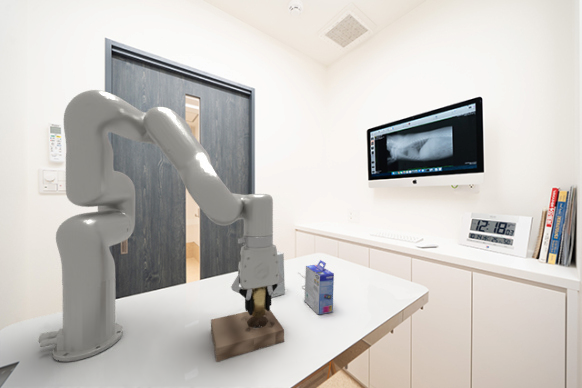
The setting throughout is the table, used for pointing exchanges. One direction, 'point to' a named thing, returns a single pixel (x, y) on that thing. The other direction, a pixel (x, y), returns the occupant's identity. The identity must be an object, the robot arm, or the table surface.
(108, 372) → the table surface
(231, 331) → the jig
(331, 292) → the ink cartridge box
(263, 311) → the brass cylinder
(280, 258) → the skincare box
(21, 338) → the table surface
